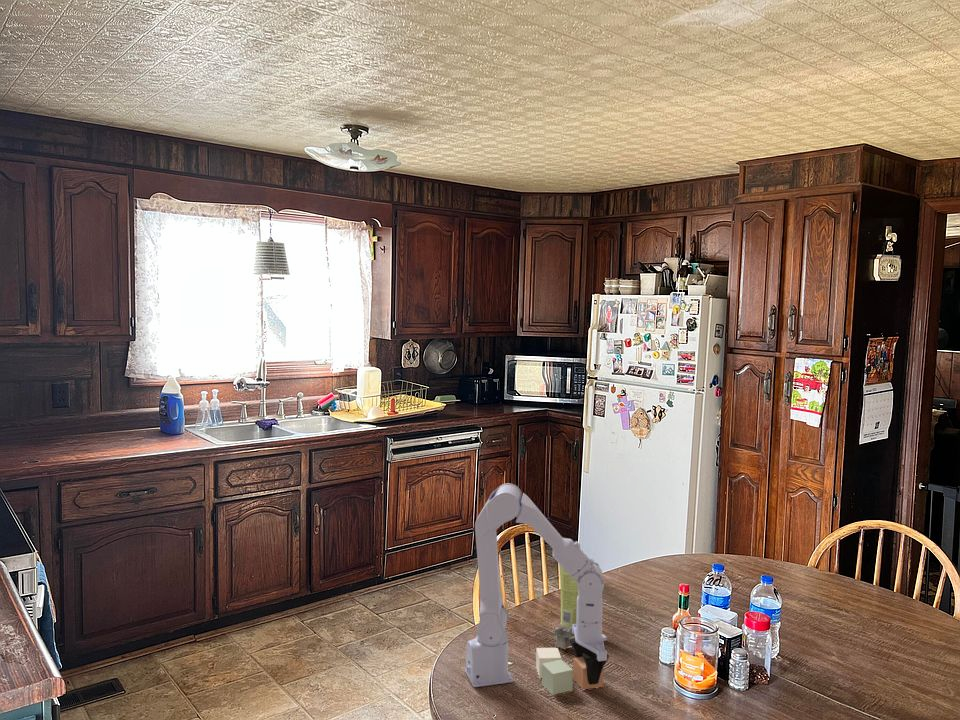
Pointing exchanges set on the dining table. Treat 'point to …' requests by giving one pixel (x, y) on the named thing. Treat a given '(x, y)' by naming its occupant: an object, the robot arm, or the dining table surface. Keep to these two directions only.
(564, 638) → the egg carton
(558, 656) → the cream block
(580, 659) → the terracotta block
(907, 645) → the dining table surface
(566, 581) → the tube
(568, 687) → the sage block
